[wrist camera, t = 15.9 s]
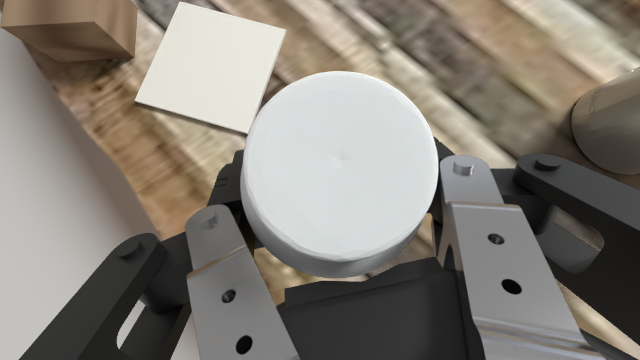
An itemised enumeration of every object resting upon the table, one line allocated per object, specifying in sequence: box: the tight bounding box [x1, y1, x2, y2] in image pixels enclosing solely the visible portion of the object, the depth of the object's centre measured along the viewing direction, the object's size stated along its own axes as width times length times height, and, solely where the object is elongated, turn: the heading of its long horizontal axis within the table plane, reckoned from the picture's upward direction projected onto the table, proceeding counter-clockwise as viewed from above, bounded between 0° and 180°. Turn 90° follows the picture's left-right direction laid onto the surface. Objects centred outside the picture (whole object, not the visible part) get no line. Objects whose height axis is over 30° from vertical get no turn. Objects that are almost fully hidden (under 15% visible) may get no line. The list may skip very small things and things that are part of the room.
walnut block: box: [0, 0, 138, 62], centre depth 25 cm, size 8×6×5 cm
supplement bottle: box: [240, 71, 438, 278], centre depth 10 cm, size 6×6×10 cm
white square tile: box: [135, 2, 286, 134], centre depth 26 cm, size 12×12×1 cm
